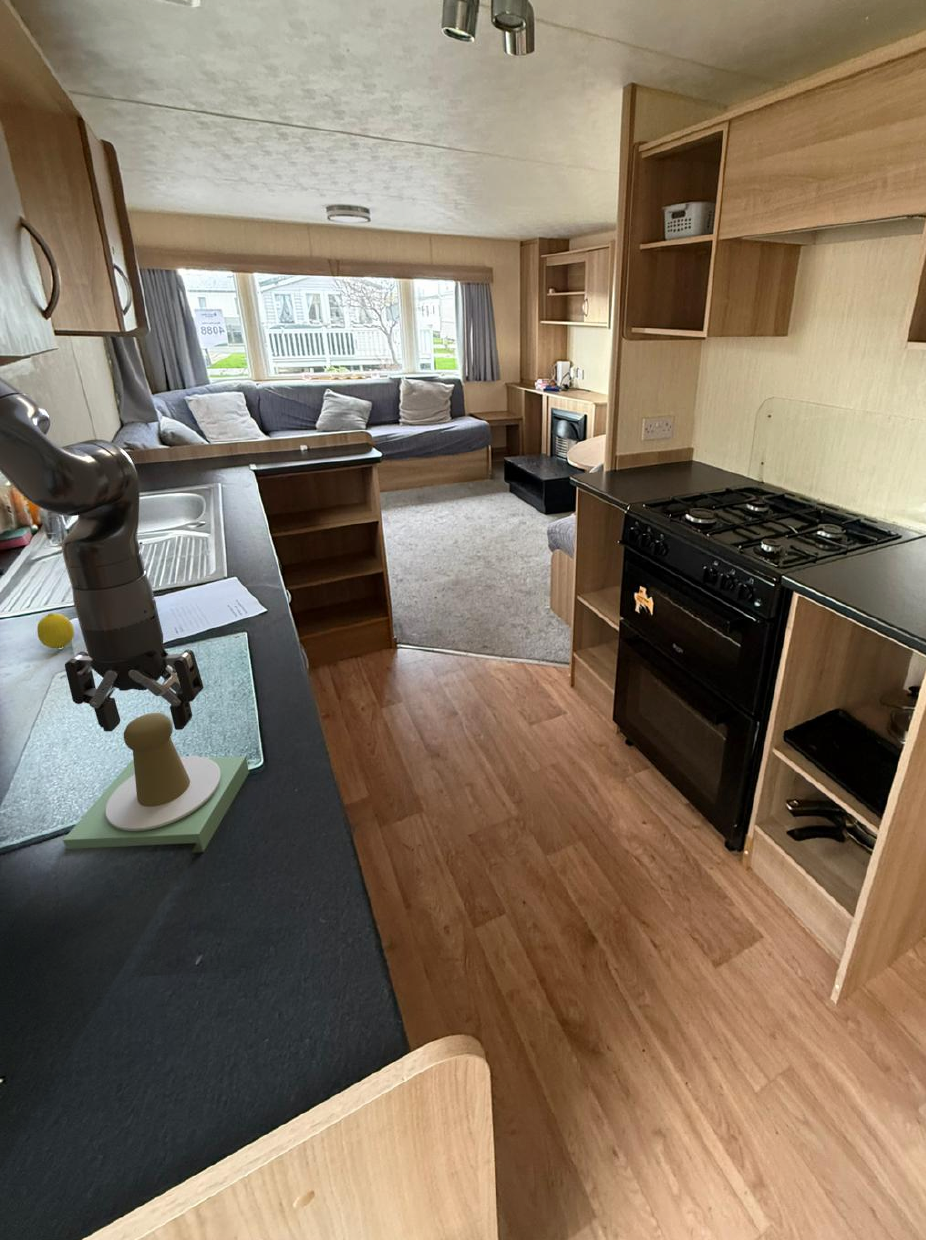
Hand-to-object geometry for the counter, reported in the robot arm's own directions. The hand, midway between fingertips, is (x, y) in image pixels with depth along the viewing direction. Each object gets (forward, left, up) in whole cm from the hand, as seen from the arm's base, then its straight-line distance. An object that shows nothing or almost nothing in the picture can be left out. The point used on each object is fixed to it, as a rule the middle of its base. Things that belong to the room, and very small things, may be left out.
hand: (148, 726), depth 75 cm
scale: (0, 0, -14) cm, 14 cm away
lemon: (-44, +45, -14) cm, 65 cm away
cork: (0, 0, -10) cm, 10 cm away
